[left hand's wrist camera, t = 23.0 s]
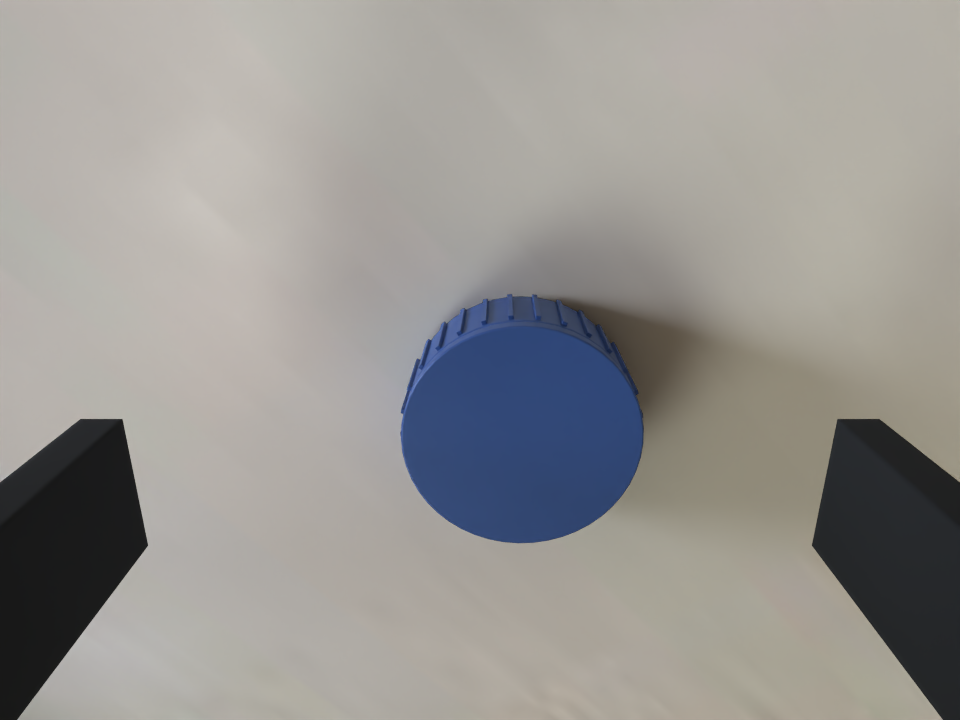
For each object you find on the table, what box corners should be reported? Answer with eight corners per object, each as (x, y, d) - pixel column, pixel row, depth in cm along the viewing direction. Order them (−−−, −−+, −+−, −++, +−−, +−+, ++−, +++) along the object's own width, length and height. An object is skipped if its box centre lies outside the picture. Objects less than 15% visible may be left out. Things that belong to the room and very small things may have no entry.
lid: (619, 494, 17) (636, 549, 15) (413, 489, 18) (400, 544, 15) (637, 294, 16) (660, 324, 13) (407, 290, 16) (392, 320, 14)
